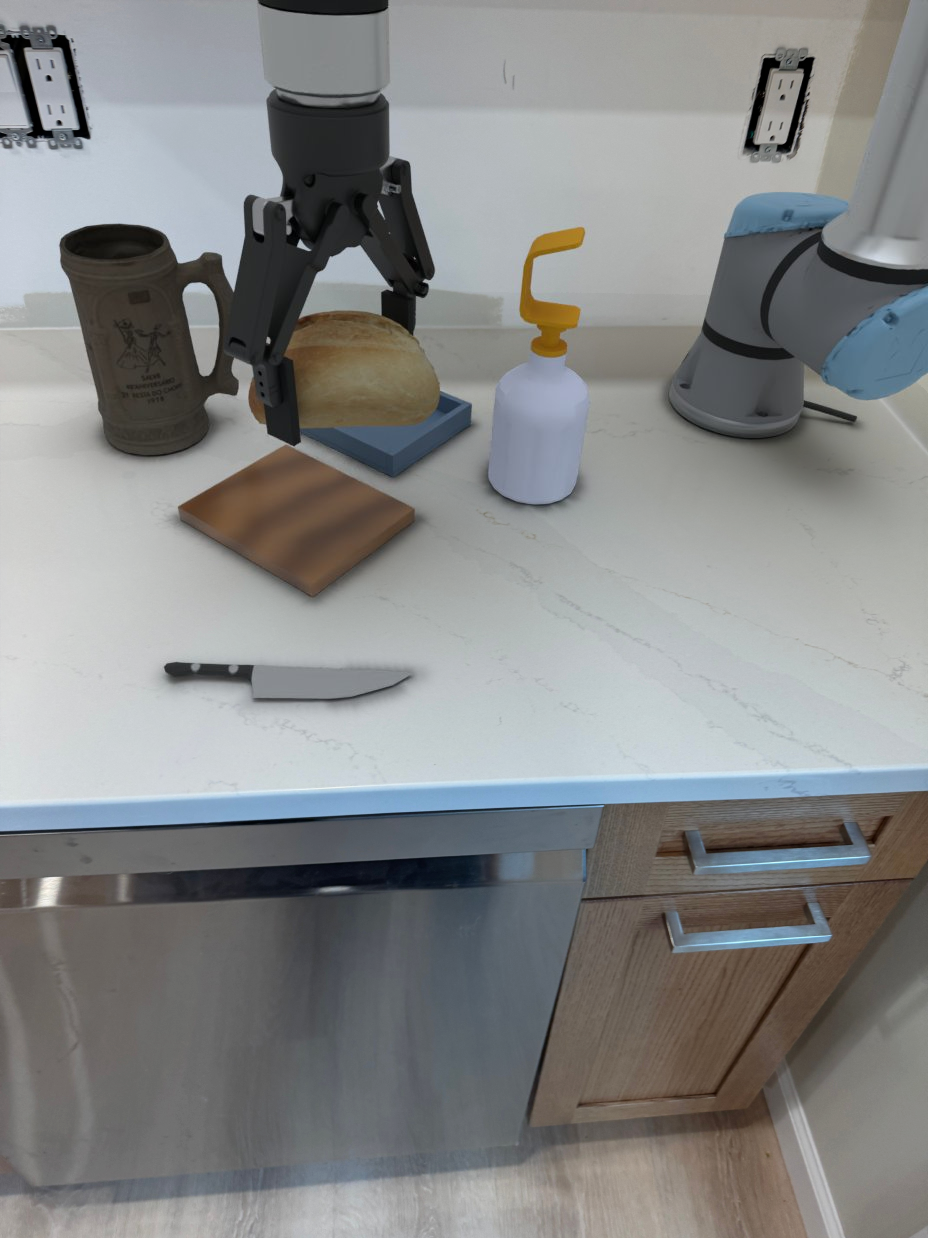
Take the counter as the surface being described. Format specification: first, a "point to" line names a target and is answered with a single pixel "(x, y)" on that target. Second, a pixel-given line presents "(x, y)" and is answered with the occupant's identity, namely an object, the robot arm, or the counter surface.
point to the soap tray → (397, 437)
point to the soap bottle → (540, 399)
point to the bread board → (297, 518)
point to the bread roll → (357, 373)
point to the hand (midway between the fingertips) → (344, 403)
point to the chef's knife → (295, 679)
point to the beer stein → (145, 334)
